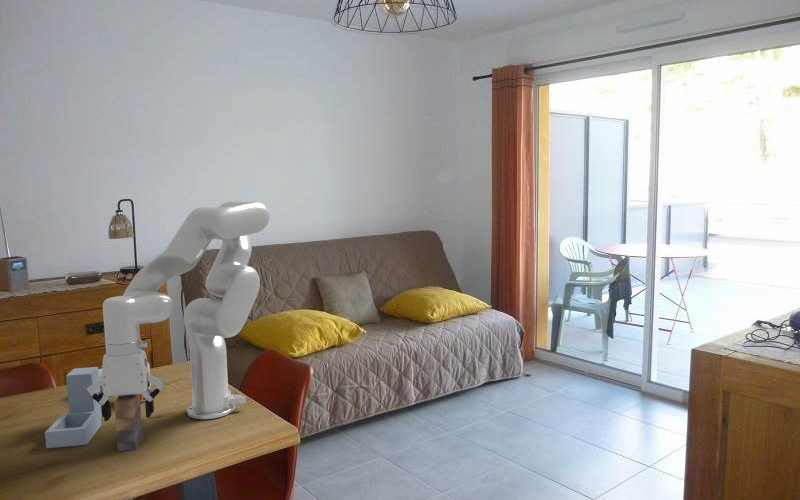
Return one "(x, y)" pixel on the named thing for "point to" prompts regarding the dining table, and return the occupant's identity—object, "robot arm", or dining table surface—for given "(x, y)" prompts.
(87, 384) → the blue stepped tray
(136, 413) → the wooden rectangular block
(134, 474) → the dining table surface
